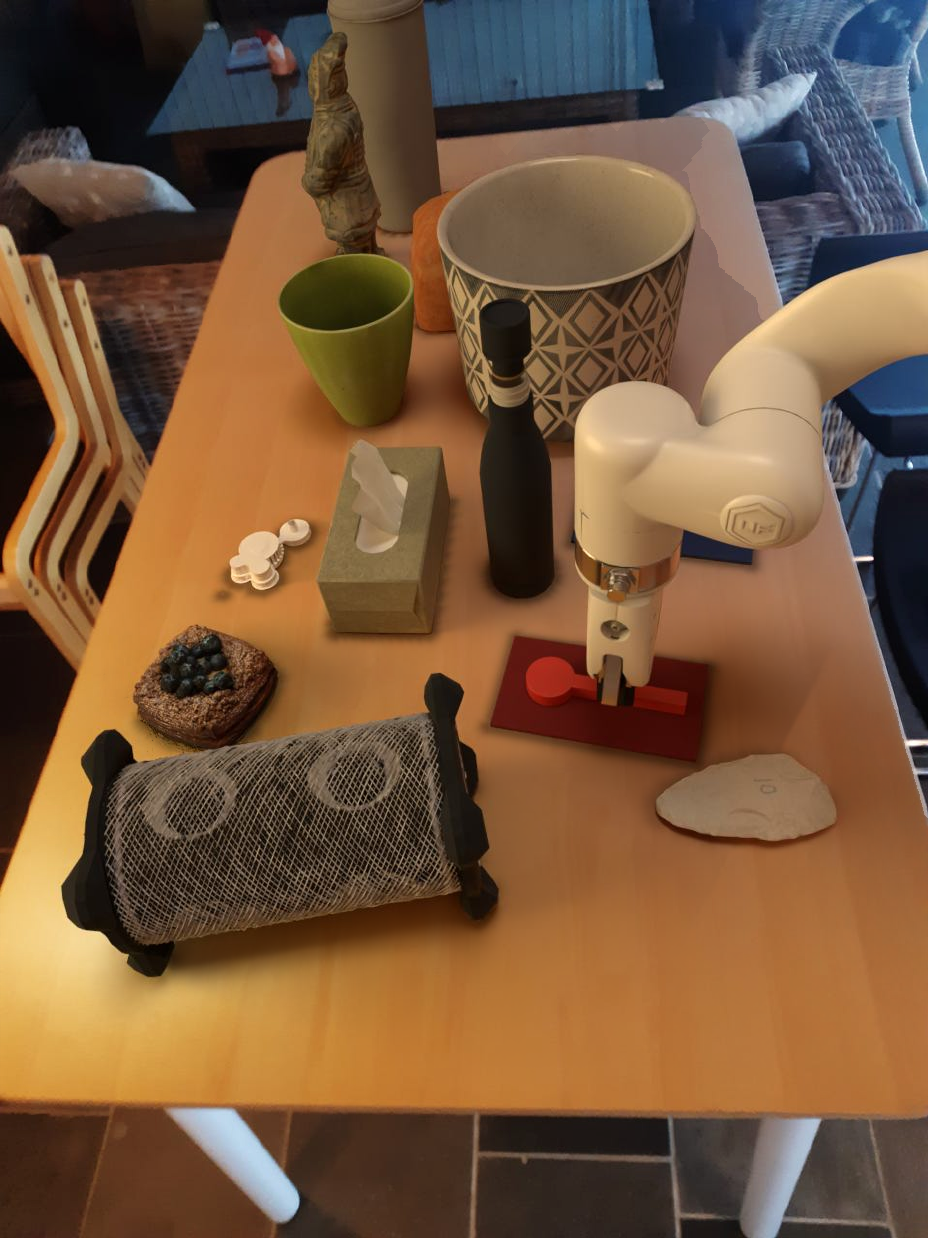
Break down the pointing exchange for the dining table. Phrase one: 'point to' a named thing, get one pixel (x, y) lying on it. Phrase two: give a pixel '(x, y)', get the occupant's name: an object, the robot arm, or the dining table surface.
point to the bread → (430, 267)
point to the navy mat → (709, 549)
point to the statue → (339, 156)
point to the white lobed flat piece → (266, 554)
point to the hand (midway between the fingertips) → (617, 685)
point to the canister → (392, 101)
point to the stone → (750, 800)
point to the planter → (571, 275)
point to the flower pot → (353, 331)
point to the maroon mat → (603, 705)
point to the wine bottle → (514, 459)
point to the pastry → (206, 688)
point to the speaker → (278, 830)
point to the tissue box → (386, 540)
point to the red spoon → (590, 688)
